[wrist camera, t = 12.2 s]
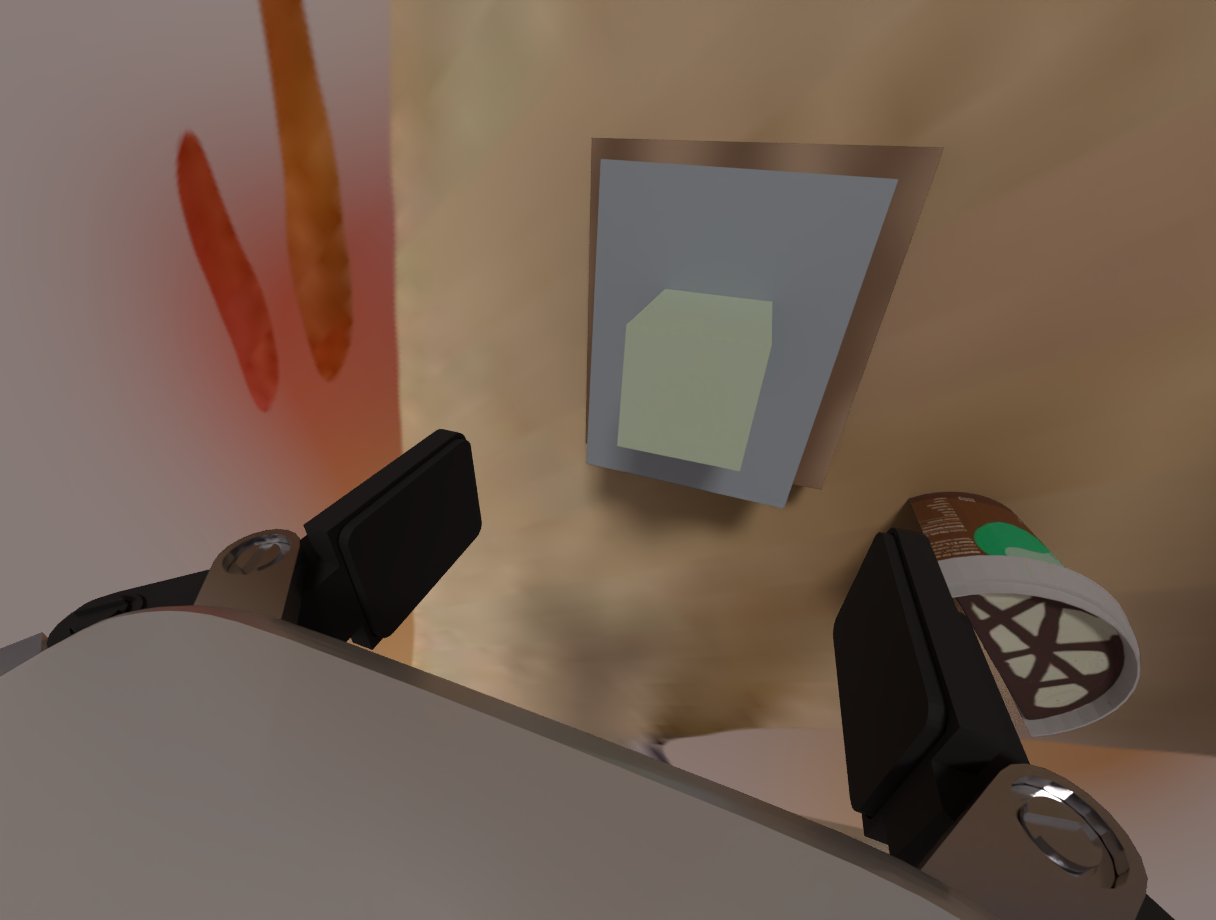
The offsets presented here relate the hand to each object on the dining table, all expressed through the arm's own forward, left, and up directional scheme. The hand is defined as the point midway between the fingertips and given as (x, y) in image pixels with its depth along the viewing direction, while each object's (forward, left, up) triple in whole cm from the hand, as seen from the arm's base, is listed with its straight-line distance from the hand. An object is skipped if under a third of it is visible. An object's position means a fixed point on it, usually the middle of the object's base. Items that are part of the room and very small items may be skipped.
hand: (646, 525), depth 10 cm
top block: (0, +1, -19) cm, 19 cm away
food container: (-20, +12, -22) cm, 32 cm away
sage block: (0, 0, -15) cm, 15 cm away
